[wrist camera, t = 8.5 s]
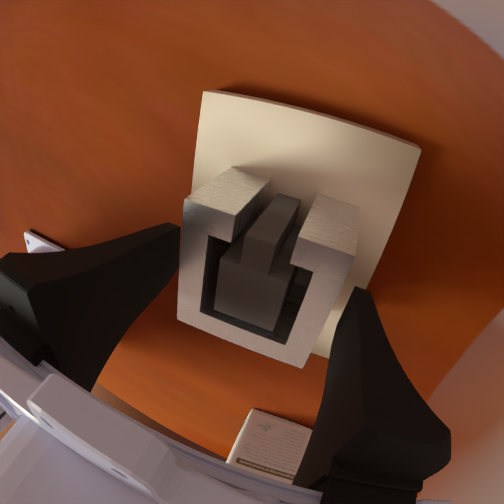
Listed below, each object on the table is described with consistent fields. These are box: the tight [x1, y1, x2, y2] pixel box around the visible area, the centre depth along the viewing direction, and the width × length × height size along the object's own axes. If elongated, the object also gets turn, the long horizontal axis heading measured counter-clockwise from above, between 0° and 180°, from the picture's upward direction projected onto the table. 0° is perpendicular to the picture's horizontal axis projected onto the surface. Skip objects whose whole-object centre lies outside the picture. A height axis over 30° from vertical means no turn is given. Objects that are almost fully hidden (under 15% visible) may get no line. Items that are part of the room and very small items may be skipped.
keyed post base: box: [191, 90, 421, 359], centre depth 13 cm, size 12×9×5 cm
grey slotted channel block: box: [177, 167, 360, 369], centre depth 13 cm, size 6×6×4 cm
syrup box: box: [226, 408, 313, 484], centre depth 19 cm, size 6×6×14 cm
